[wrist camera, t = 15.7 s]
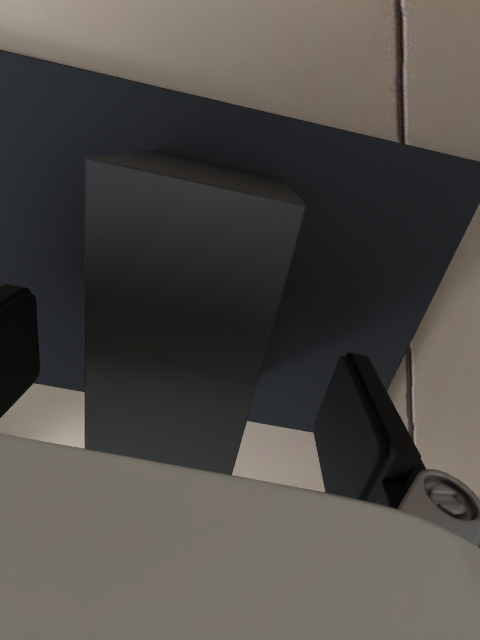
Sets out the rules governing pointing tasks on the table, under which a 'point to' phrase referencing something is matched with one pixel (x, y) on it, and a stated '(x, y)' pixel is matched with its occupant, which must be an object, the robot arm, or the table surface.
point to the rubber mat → (250, 155)
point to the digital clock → (179, 302)
